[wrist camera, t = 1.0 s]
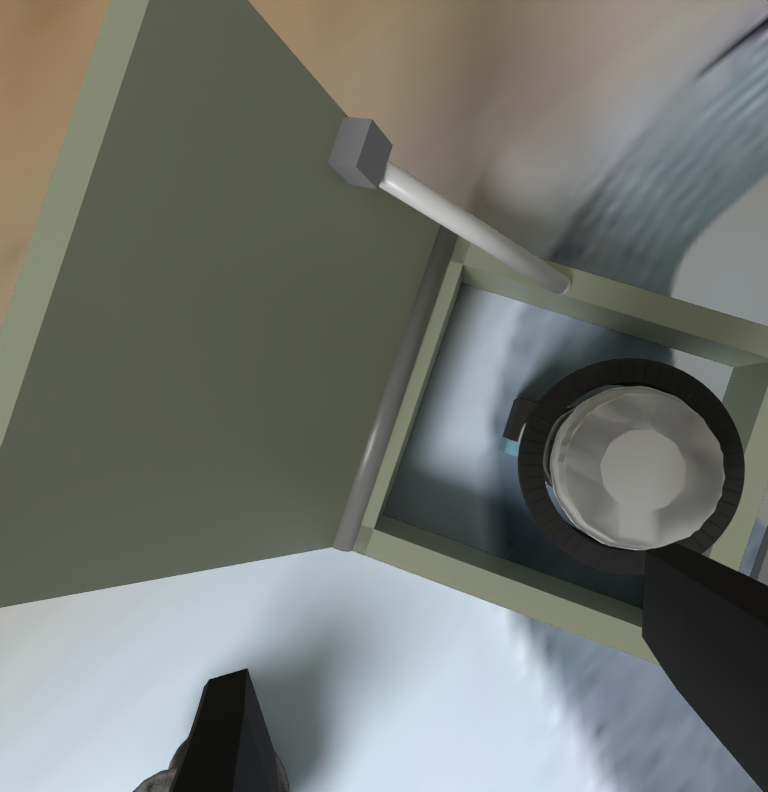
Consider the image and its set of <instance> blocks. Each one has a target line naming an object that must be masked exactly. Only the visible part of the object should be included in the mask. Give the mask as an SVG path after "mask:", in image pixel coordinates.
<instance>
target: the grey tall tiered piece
mask: <svg viewBox="0 0 768 792" xmlns="http://www.w3.org/2000/svg"><path fill="white" fill-rule="evenodd" d="M187 740H188V739H187ZM187 740H186V741H185V742H184V743H183V744H182V745H181V746H180V747H179V748H178V749H177V751H176V753H175V755H174V756H173V758H172V760H171V762H170V765H169V768H168V770H163V771H161V772H159V773H157V774H155V775H153V776H151V777H150V778H148V779H146V780H144V781H143V782H142V783H141V784H140V785H139V786H138V787H137V788H136V789H135V790H134V791H133V792H169V789H170V787H171V784H172V782H173V779H174V776H175V774H176V771H177V768H178V766H179V763H180V760H181V757H182V754H183V752H184V749H185V746H186V743H187ZM274 753H275V759H276V768H277V777H278V785H279V792H288V781H287V777H286V773H285V769H284V767H283V765H282V763H281V761H280V759H279V757H278V756H277V754H276V752H275V751H274Z"/></svg>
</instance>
